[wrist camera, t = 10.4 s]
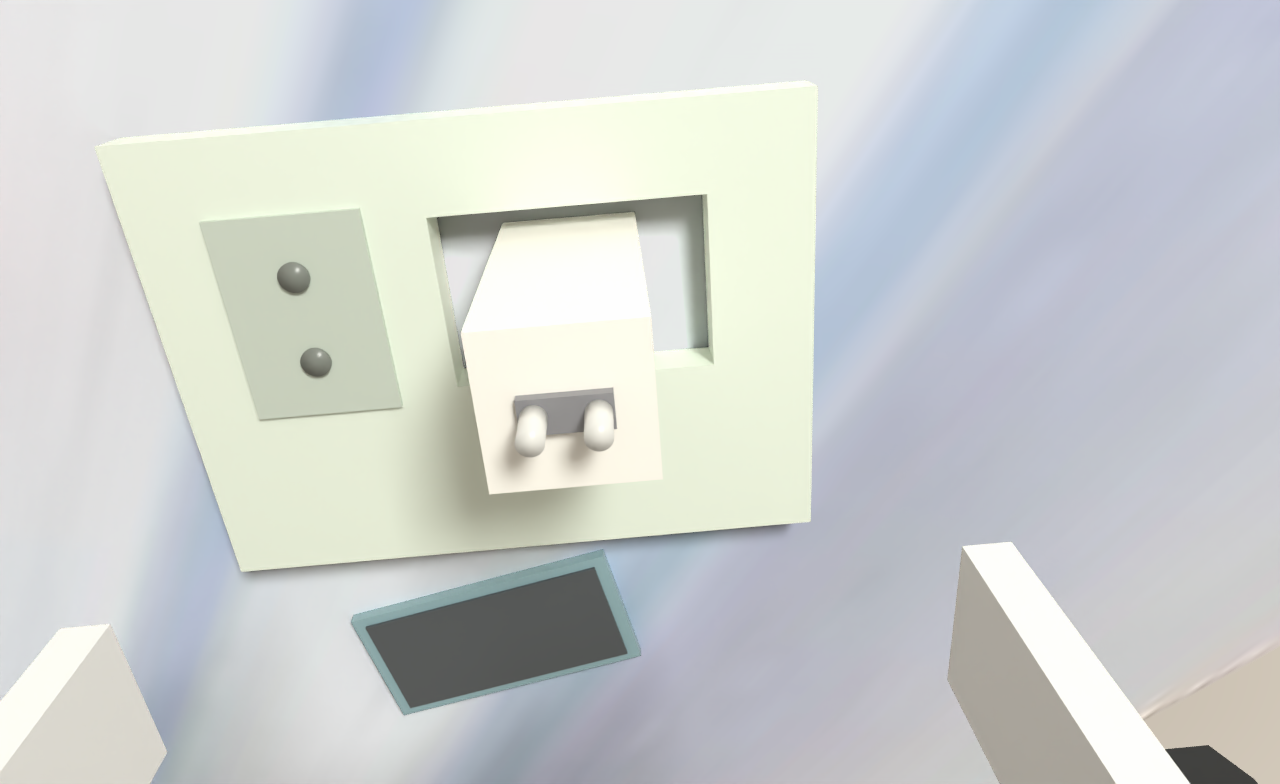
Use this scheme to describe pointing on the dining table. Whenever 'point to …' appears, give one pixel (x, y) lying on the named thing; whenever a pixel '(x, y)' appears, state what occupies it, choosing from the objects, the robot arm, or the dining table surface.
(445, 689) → the phone
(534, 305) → the charger
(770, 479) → the outlet plate
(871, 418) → the dining table surface
